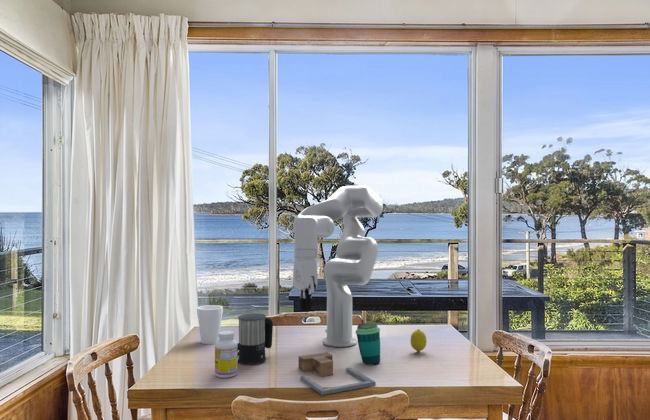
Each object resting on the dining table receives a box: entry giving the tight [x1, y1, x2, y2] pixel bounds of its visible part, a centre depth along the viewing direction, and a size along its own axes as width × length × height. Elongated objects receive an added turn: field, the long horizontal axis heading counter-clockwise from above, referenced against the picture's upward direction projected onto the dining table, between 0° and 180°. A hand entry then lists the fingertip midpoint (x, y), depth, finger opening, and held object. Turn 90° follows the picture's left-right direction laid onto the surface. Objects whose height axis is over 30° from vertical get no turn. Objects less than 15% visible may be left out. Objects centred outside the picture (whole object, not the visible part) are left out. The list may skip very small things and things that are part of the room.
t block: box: [297, 351, 334, 377], centre depth 155 cm, size 10×10×4 cm
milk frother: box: [237, 312, 274, 366], centre depth 168 cm, size 14×16×15 cm
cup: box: [355, 322, 381, 366], centre depth 164 cm, size 8×8×12 cm
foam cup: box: [196, 304, 224, 345], centre depth 189 cm, size 10×9×13 cm
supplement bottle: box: [214, 330, 238, 379], centre depth 151 cm, size 7×7×13 cm
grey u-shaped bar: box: [299, 367, 377, 396], centre depth 145 cm, size 14×17×1 cm
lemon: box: [409, 328, 427, 353], centre depth 175 cm, size 6×6×8 cm
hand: (305, 310), depth 164 cm, fingers closed
